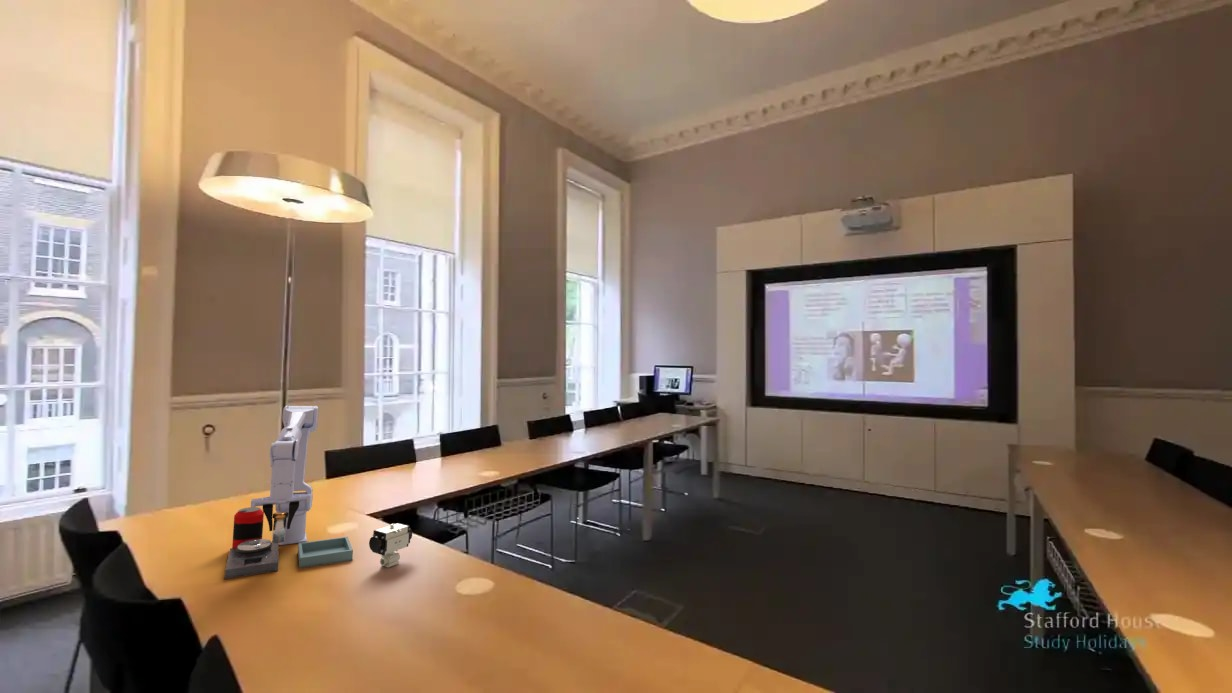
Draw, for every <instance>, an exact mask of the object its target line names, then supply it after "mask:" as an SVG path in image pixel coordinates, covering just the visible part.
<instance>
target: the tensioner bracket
mask: <svg viewBox="0 0 1232 693" xmlns="http://www.w3.org/2000/svg"><path fill="white" fill-rule="evenodd" d="M224 569H225V570H224V571H225V572H224V580H229V579H235V578H240V577H241V578H242V577H248V576H254V575H259V574H266V573H273V572H278V571H279V545H278V543H272V540H269V539H267V538H262V539H253V540H250V541H246V542H243V543H241V544H239V545H238V546H237V548H232V547H231V548H230V549H229V552H228V557H227V561H226V565H225V568H224Z"/></svg>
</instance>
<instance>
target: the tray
mask: <svg viewBox="0 0 1232 693" xmlns="http://www.w3.org/2000/svg"><path fill="white" fill-rule="evenodd" d="M353 552H354V549H353V547H352V544H351V541H350V539H349V537H348V536H341V537H334V538H328V539H327V538H326V539H318V540H311V541H306V542H300V543H297V557H298V558H297V559H298V567H299V569H306V568H311V567H312V568H313V567H316V566H324V564H325V565H331V563H332V564H337V563H343V562H351V561H353V557H354V556H353V554H354V553H353Z"/></svg>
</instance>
